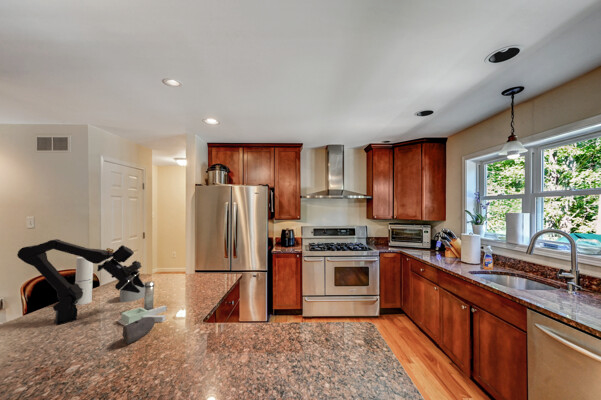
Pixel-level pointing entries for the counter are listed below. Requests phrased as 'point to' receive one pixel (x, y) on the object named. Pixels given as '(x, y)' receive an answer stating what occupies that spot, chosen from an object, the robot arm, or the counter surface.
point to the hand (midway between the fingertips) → (141, 289)
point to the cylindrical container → (84, 279)
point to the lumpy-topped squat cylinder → (132, 294)
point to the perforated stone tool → (137, 329)
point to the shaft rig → (142, 315)
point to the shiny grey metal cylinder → (149, 295)
